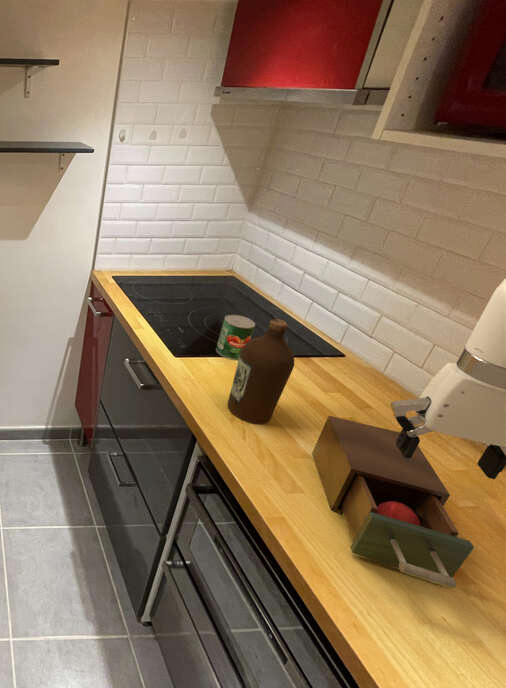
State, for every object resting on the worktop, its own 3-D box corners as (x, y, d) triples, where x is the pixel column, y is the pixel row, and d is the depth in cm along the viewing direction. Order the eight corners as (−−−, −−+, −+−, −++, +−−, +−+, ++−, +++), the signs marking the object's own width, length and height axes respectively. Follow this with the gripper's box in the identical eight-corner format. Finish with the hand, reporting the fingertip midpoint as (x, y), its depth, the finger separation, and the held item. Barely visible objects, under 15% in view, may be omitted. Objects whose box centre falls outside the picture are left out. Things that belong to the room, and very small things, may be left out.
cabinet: (422, 537, 79) (450, 495, 75) (330, 510, 84) (351, 468, 80) (389, 474, 92) (411, 435, 88) (311, 453, 97) (328, 415, 93)
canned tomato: (229, 344, 138) (238, 312, 134) (251, 357, 132) (262, 325, 127) (209, 348, 136) (218, 316, 131) (231, 362, 129) (241, 329, 124)
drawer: (466, 620, 66) (496, 582, 62) (363, 585, 70) (385, 547, 67) (409, 512, 83) (430, 477, 79) (329, 489, 87) (345, 455, 84)
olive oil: (265, 401, 113) (297, 314, 103) (280, 430, 103) (316, 337, 93) (220, 394, 115) (246, 308, 105) (229, 421, 106) (259, 329, 96)
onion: (421, 538, 71) (433, 507, 75) (377, 512, 75) (390, 483, 79) (404, 557, 74) (416, 526, 78) (362, 531, 78) (375, 502, 82)
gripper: (566, 369, 61) (505, 462, 68) (406, 342, 67) (365, 430, 75) (609, 401, 55) (536, 500, 62) (428, 368, 61) (381, 461, 68)
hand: (443, 461), depth 68 cm, fingers open, 9 cm apart
